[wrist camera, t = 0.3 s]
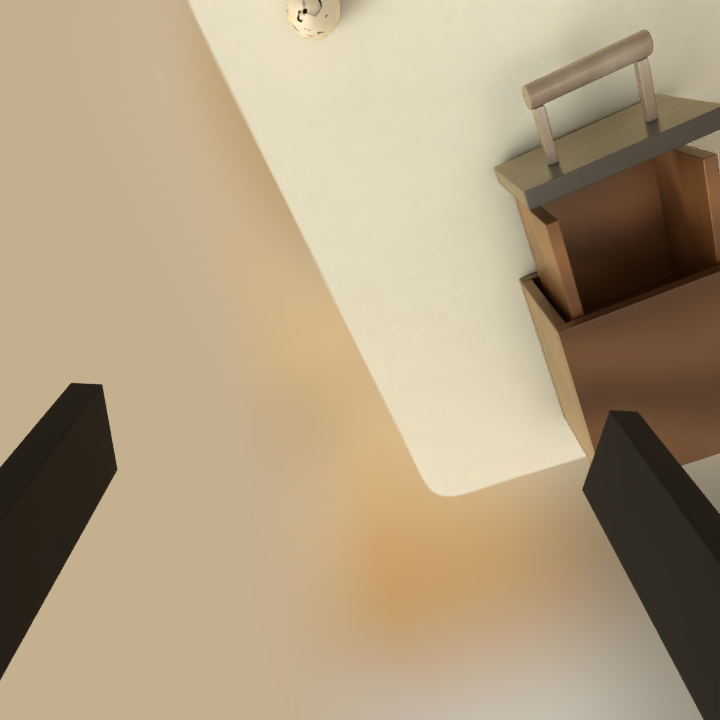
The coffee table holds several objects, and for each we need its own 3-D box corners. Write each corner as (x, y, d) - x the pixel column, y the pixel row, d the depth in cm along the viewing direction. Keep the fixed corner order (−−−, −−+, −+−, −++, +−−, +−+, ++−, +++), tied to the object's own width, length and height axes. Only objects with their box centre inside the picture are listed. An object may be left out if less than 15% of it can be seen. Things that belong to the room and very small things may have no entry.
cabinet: (518, 278, 44) (558, 332, 36) (681, 213, 42) (764, 254, 34) (564, 417, 51) (606, 490, 42) (706, 367, 48) (781, 434, 40)
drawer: (471, 97, 37) (498, 107, 30) (644, 14, 35) (716, 6, 28) (543, 325, 45) (578, 374, 39) (687, 270, 43) (750, 312, 36)
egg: (349, 25, 36) (348, 22, 31) (304, 49, 36) (297, 48, 32) (327, -30, 34) (324, -41, 30) (281, -4, 35) (271, -12, 31)
